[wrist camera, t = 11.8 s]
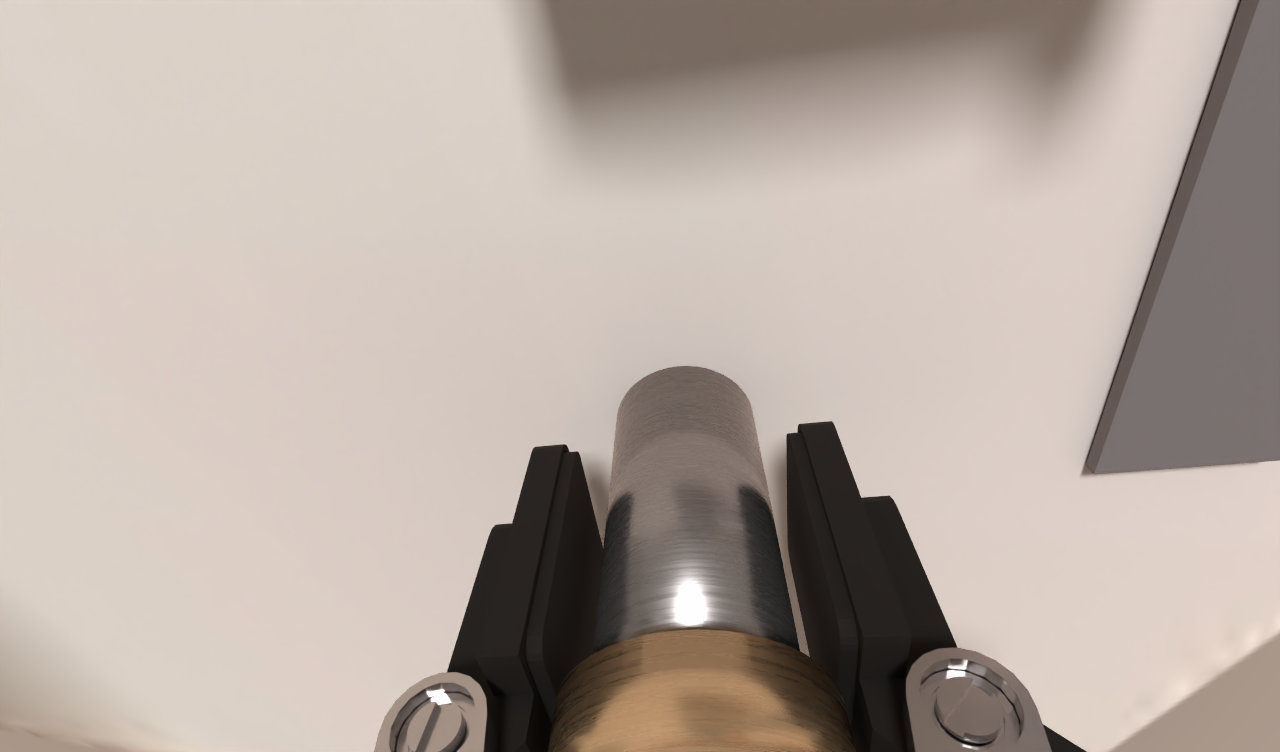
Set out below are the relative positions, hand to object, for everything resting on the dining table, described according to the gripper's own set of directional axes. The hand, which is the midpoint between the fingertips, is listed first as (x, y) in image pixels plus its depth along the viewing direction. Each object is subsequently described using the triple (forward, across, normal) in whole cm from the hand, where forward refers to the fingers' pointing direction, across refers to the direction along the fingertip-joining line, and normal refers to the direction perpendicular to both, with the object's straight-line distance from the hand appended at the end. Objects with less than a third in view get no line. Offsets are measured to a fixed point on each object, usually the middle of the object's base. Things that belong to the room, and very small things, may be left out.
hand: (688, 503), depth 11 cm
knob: (+2, 0, 0) cm, 2 cm away
